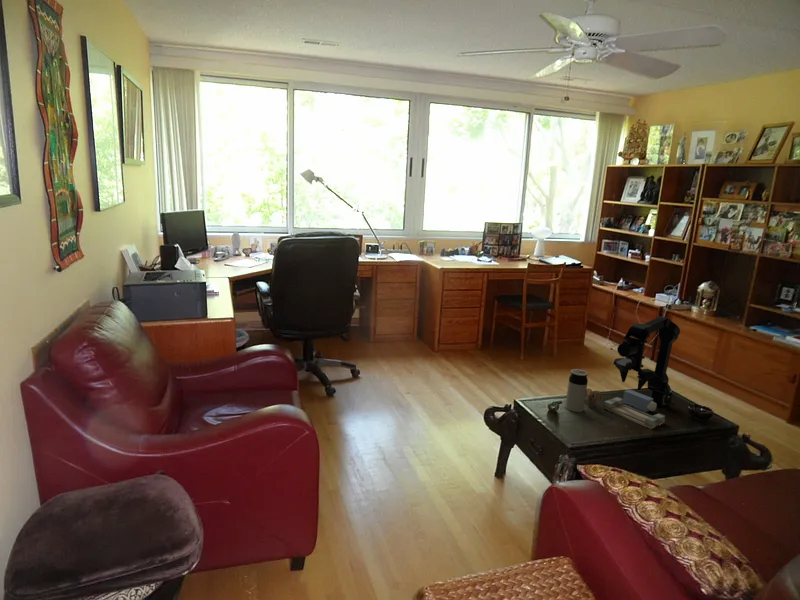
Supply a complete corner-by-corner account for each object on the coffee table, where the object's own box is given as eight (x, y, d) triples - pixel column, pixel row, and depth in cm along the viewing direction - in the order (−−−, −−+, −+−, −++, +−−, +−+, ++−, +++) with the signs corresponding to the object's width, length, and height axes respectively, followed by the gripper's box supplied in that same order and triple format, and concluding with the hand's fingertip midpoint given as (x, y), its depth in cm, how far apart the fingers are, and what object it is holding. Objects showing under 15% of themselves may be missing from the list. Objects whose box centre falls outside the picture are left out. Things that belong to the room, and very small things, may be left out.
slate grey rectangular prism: (627, 400, 245) (629, 389, 244) (655, 412, 234) (657, 400, 233) (622, 402, 243) (624, 391, 241) (650, 414, 232) (652, 401, 230)
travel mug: (584, 413, 228) (590, 376, 224) (566, 411, 229) (571, 373, 225) (582, 406, 235) (587, 369, 231) (564, 404, 237) (569, 367, 233)
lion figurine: (602, 411, 232) (605, 392, 230) (591, 411, 231) (594, 392, 229) (586, 397, 246) (589, 380, 244) (576, 397, 245) (579, 380, 243)
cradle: (616, 403, 241) (617, 396, 240) (664, 423, 222) (665, 416, 222) (602, 408, 234) (603, 401, 234) (650, 429, 216) (652, 421, 215)
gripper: (606, 347, 229) (601, 380, 233) (638, 361, 212) (632, 396, 216) (625, 345, 233) (621, 377, 236) (658, 359, 216) (652, 393, 219)
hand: (631, 385), depth 227 cm, fingers open, 9 cm apart
